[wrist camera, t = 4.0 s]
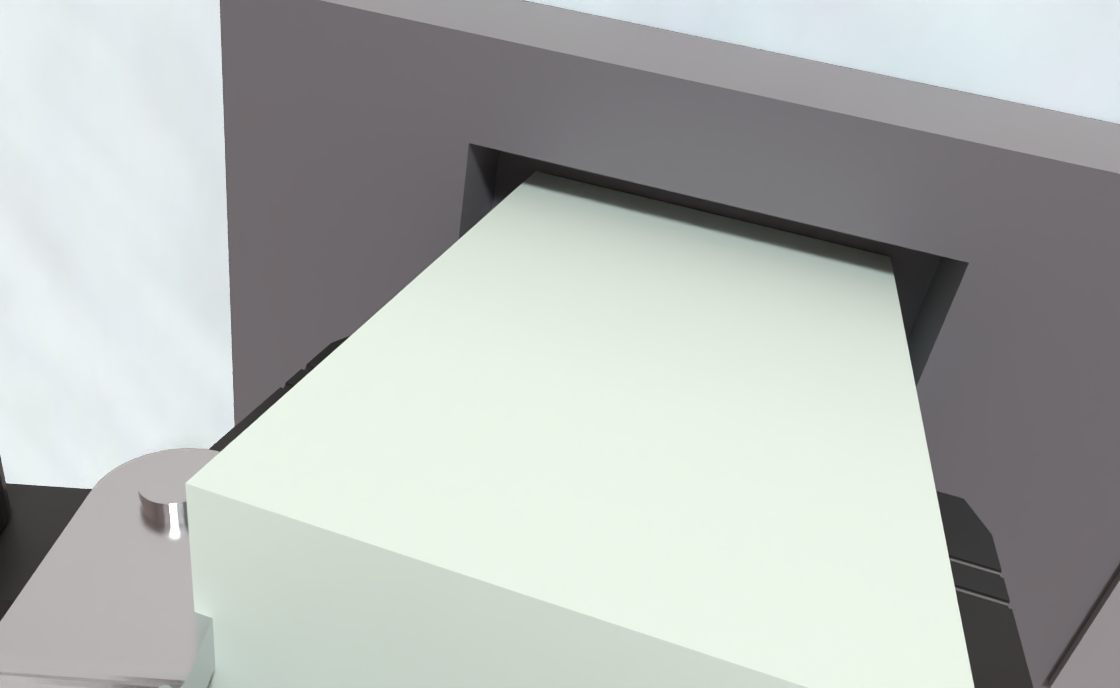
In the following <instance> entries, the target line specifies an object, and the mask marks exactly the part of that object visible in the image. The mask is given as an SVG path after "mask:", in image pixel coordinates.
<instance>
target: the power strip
mask: <svg viewBox="0 0 1120 688" xmlns="http://www.w3.org/2000/svg"><path fill="white" fill-rule="evenodd" d="M220 18H221V47H222V75H223V104H224V133H225V162H226V190H227V219H228V248H229V276H230V305H231V334H232V363H233V391H234V420H235V426H236V425H237V424H238V423H240V422H241V421H242V420H243V419H244V418H245V417H246V416H248V415H249V414H250V413H251V412H252V411H253V410H255V409H256V408H257V407H258V406H259V405H260V404H261V403H263V402H264V401H265V400H266V399H267V398H268V397H269V396H271V395H272V394H273V393H274V392H275V391H276V390H278V389H279V388H280V387H281V388H284V386H285V383H286V382H287V381H288V380H289V379H290V378H291V377H292V376H294V375H295V374H296V373H297V372H298V371H299V370H300V369H303V370H305V368H306V364H307V363H309V362H310V361H311V360H312V359H313V358H314V357H315V356H317V355H318V354H319V353H320V352H321V351H322V350H323V349H325V348H326V347H327V346H328V345H329V344H330V343H332V342H335V341H337V340H340V339H343V338H345V337H348V336H350V335H352V334H353V333H355V332H356V331H357V330H358V329H359V328H360V327H361V326H362V325H363V324H365V323H366V322H367V321H368V320H369V319H370V318H371V317H372V316H374V315H375V314H376V313H377V312H378V311H379V310H380V309H381V308H383V307H384V306H385V305H386V304H387V303H388V302H389V301H390V300H392V299H393V298H394V297H395V296H396V295H397V294H398V293H399V292H401V291H402V290H403V289H404V288H405V287H406V286H407V285H408V284H410V283H411V282H412V281H413V280H414V279H415V278H416V277H417V276H419V275H420V274H421V273H422V272H423V271H424V270H425V269H426V268H427V267H429V266H430V265H431V264H432V263H433V262H434V261H435V260H436V259H438V258H439V257H440V256H441V255H442V254H443V253H444V252H445V251H447V250H448V249H449V248H450V247H451V246H452V245H453V244H454V243H456V242H457V241H458V240H459V239H460V238H461V237H462V236H463V235H465V234H466V233H467V232H468V231H469V230H470V229H471V228H472V227H474V226H475V225H476V224H477V223H478V222H479V221H480V220H481V219H483V218H484V217H485V216H486V215H487V214H488V213H489V212H490V211H492V210H493V209H494V208H495V207H496V206H497V205H498V204H499V203H500V202H502V201H503V200H504V199H505V198H506V197H507V196H508V195H509V194H511V193H512V192H513V191H514V190H515V189H516V188H517V187H518V186H520V185H521V184H522V183H523V182H524V181H525V180H526V179H527V178H529V177H530V176H531V175H532V174H533V173H534V172H535V171H538V172H542V173H546V174H550V175H554V176H559V177H563V178H567V179H571V180H575V181H579V182H583V183H587V184H592V185H596V186H600V187H604V188H608V189H612V190H616V191H621V192H625V193H629V194H633V195H637V196H641V197H645V198H649V199H654V200H658V201H662V202H666V203H670V204H674V205H678V206H683V207H687V208H691V209H695V210H699V211H703V212H707V213H711V214H716V215H720V216H724V217H728V218H732V219H736V220H740V221H744V222H749V223H753V224H757V225H761V226H765V227H769V228H773V229H778V230H782V231H786V232H790V233H794V234H798V235H802V236H806V237H811V238H815V239H819V240H823V241H827V242H831V243H835V244H840V245H844V246H848V247H852V248H856V249H860V250H864V251H868V252H873V253H877V254H881V255H885V256H889V257H891V263H892V268H893V273H894V278H895V283H896V288H897V293H898V298H899V304H900V309H901V314H902V319H903V324H904V329H905V334H906V339H907V345H908V350H909V355H910V360H911V365H912V370H913V375H914V380H915V386H916V391H917V396H918V401H919V406H920V411H921V416H922V422H923V427H924V432H925V437H926V442H927V447H928V452H929V457H930V463H931V468H932V473H933V478H934V483H935V488H936V491H939V492H942V493H946V494H949V495H953V496H957V497H960V498H964V499H965V501H966V502H967V503H968V505H969V506H970V507H971V508H972V510H973V511H974V512H975V514H976V515H977V516H978V517H979V519H980V520H981V521H982V522H983V524H984V525H985V526H986V528H987V529H988V530H989V531H990V533H991V534H992V536H993V540H994V544H995V547H996V551H997V555H998V559H999V562H1000V566H1001V570H1002V571H1001V575H1000V577H1002V578H1004V581H1005V584H1006V588H1007V592H1008V596H1009V599H1010V602H1009V608H1010V609H1012V610H1013V614H1014V618H1015V621H1016V625H1017V629H1018V632H1019V636H1020V640H1021V644H1022V647H1023V651H1024V655H1025V658H1026V662H1027V666H1028V669H1029V673H1030V677H1031V681H1032V684H1033V688H1120V124H1116V123H1111V122H1106V121H1102V120H1097V119H1092V118H1087V117H1082V116H1077V115H1073V114H1068V113H1063V112H1058V111H1053V110H1049V109H1044V108H1039V107H1034V106H1029V105H1025V104H1020V103H1015V102H1010V101H1005V100H1001V99H996V98H991V97H986V96H981V95H977V94H972V93H967V92H962V91H957V90H952V89H948V88H943V87H938V86H933V85H928V84H924V83H919V82H914V81H909V80H904V79H900V78H895V77H890V76H885V75H880V74H876V73H871V72H866V71H861V70H856V69H852V68H847V67H842V66H837V65H832V64H827V63H823V62H818V61H813V60H808V59H803V58H799V57H794V56H789V55H784V54H779V53H775V52H770V51H765V50H760V49H755V48H751V47H746V46H741V45H736V44H731V43H727V42H722V41H717V40H712V39H707V38H702V37H698V36H693V35H688V34H683V33H678V32H674V31H669V30H664V29H659V28H654V27H650V26H645V25H640V24H635V23H630V22H626V21H621V20H616V19H611V18H606V17H602V16H597V15H592V14H587V13H582V12H577V11H573V10H568V9H563V8H558V7H553V6H549V5H544V4H539V3H534V2H529V1H525V0H220Z"/></svg>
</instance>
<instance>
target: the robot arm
mask: <svg viewBox="0 0 1120 688" xmlns="http://www.w3.org/2000/svg"><path fill="white" fill-rule="evenodd" d="M350 336H351V335H350ZM350 336H348V337H345V338H343V339H340V340H337V341H335V342H332V343H330V344H329V345H328V346H327V347H326V348H325V349H323V350H322V351H321V352H320V353H319V354H318V355H317V356H315V357H314V358H313V359H312V360H311V361H310V362H309V363H307V364H306V368H305V370H303V369H300V370H299V371H298V372H297V373H296V374H295V375H294V376H292V377H291V378H290V379H289V380H288V381H287V382H286V383H285V386H284V388H281V387H280V388H279V389H278V390H276V391H275V392H274V393H273V394H272V395H271V396H269V397H268V398H267V399H266V400H265V401H264V402H263V403H261V404H260V405H259V406H258V407H257V408H256V409H255V410H253V411H252V412H251V413H250V414H249V415H248V416H246V417H245V418H244V419H243V420H242V421H241V422H240V423H238V424H237V425H236V426H235V427H234V428H233V429H232V430H230V431H229V432H228V433H227V434H226V435H225V436H223V437H222V438H221V439H220V440H219V441H218V442H217V443H215V444H214V445H213V446H212V447H211V448H210V449H209V450H208V449H197V448H182V449H171V450H164V451H159V452H155V453H150V454H147V455H144V456H141V457H138V458H135V459H133V460H130V461H128V462H126V463H124V464H122V465H120V466H118V467H117V468H115V469H114V470H112V471H111V472H109V473H108V474H107V475H105V476H104V477H103V478H102V479H101V480H100V481H99V482H98V483H97V484H96V485H95V487H94V488H93V489H79V488H65V487H50V486H36V485H21V484H7V483H6V482H5V477H4V472H3V467H2V462H1V457H0V688H207V687H208V684H209V681H210V679H211V676H212V674H213V671H214V669H215V651H214V634H213V618H210V617H207V616H205V615H202V614H199V613H196V612H194V598H193V584H192V570H191V557H190V543H189V529H188V515H187V501H186V488H185V483H186V482H187V481H188V480H189V479H191V478H192V477H193V476H194V475H195V474H196V473H197V472H198V471H200V470H201V469H202V468H203V467H204V466H205V465H206V464H207V463H209V462H210V461H211V460H212V459H213V458H214V457H215V456H216V455H217V454H219V453H220V452H221V451H222V450H223V449H224V448H225V447H226V446H228V445H229V444H230V443H231V442H232V441H233V440H234V439H235V438H237V437H238V436H239V435H240V434H241V433H242V432H243V431H244V430H246V429H247V428H248V427H249V426H250V425H251V424H252V423H253V422H255V421H256V420H257V419H258V418H259V417H260V416H261V415H262V414H264V413H265V412H266V411H267V410H268V409H269V408H270V407H271V406H273V405H274V404H275V403H276V402H277V401H278V400H279V399H280V398H282V397H283V396H284V395H285V394H286V393H287V392H288V391H289V390H290V389H292V388H293V387H294V386H295V385H296V384H297V383H298V382H299V381H301V380H302V379H303V378H304V377H305V376H306V375H307V374H308V373H310V372H311V371H312V370H313V369H314V368H315V367H316V366H317V365H319V364H320V363H321V362H322V361H323V360H324V359H325V358H326V357H328V356H329V355H330V354H331V353H332V352H333V351H334V350H335V349H337V348H338V347H339V346H340V345H341V344H342V343H343V342H344V341H346V340H347V339H348V338H349V337H350ZM936 493H937V498H938V504H939V509H940V514H941V519H942V524H943V529H944V534H945V539H946V545H947V550H948V555H949V560H950V565H951V570H952V575H953V580H954V586H955V591H956V596H957V601H958V606H959V611H960V616H961V621H962V627H963V632H964V637H965V642H966V647H967V652H968V657H969V662H970V668H971V673H972V678H973V683H974V688H1033V684H1032V681H1031V677H1030V673H1029V669H1028V666H1027V662H1026V658H1025V655H1024V651H1023V647H1022V644H1021V640H1020V636H1019V632H1018V629H1017V625H1016V621H1015V618H1014V614H1013V610H1012V609H1010V608H1009V602H1010V599H1009V596H1008V592H1007V588H1006V584H1005V581H1004V578H1002V577H1000V575H1001V571H1002V570H1001V566H1000V562H999V559H998V555H997V551H996V547H995V544H994V540H993V536H992V534H991V533H990V531H989V530H988V529H987V528H986V526H985V525H984V524H983V522H982V521H981V520H980V519H979V517H978V516H977V515H976V514H975V512H974V511H973V510H972V508H971V507H970V506H969V505H968V503H967V502H966V501H965V499H964V498H960V497H957V496H953V495H949V494H946V493H942V492H939V491H936Z"/></svg>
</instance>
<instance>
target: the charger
mask: <svg viewBox="0 0 1120 688" xmlns="http://www.w3.org/2000/svg"><path fill="white" fill-rule="evenodd" d="M185 488H186V501H187V515H188V529H189V543H190V557H191V570H192V584H193V598H194V612H196V613H199V614H202V615H205V616H207V617H210V618H213V634H214V651H215V669H214V671H213V674H212V676H211V679H210V681H209V684H208V687H207V688H974V683H973V678H972V673H971V668H970V662H969V657H968V652H967V647H966V642H965V637H964V632H963V627H962V621H961V616H960V611H959V606H958V601H957V596H956V591H955V586H954V580H953V575H952V570H951V565H950V560H949V555H948V550H947V545H946V539H945V534H944V529H943V524H942V519H941V514H940V509H939V504H938V498H937V493H936V488H935V483H934V478H933V473H932V468H931V463H930V457H929V452H928V447H927V442H926V437H925V432H924V427H923V422H922V416H921V411H920V406H919V401H918V396H917V391H916V386H915V380H914V375H913V370H912V365H911V360H910V355H909V350H908V345H907V339H906V334H905V329H904V324H903V319H902V314H901V309H900V304H899V298H898V293H897V288H896V283H895V278H894V273H893V268H892V263H891V257H889V256H885V255H881V254H877V253H873V252H868V251H864V250H860V249H856V248H852V247H848V246H844V245H840V244H835V243H831V242H827V241H823V240H819V239H815V238H811V237H806V236H802V235H798V234H794V233H790V232H786V231H782V230H778V229H773V228H769V227H765V226H761V225H757V224H753V223H749V222H744V221H740V220H736V219H732V218H728V217H724V216H720V215H716V214H711V213H707V212H703V211H699V210H695V209H691V208H687V207H683V206H678V205H674V204H670V203H666V202H662V201H658V200H654V199H649V198H645V197H641V196H637V195H633V194H629V193H625V192H621V191H616V190H612V189H608V188H604V187H600V186H596V185H592V184H587V183H583V182H579V181H575V180H571V179H567V178H563V177H559V176H554V175H550V174H546V173H542V172H538V171H535V172H534V173H533V174H532V175H531V176H530V177H529V178H527V179H526V180H525V181H524V182H523V183H522V184H521V185H520V186H518V187H517V188H516V189H515V190H514V191H513V192H512V193H511V194H509V195H508V196H507V197H506V198H505V199H504V200H503V201H502V202H500V203H499V204H498V205H497V206H496V207H495V208H494V209H493V210H492V211H490V212H489V213H488V214H487V215H486V216H485V217H484V218H483V219H481V220H480V221H479V222H478V223H477V224H476V225H475V226H474V227H472V228H471V229H470V230H469V231H468V232H467V233H466V234H465V235H463V236H462V237H461V238H460V239H459V240H458V241H457V242H456V243H454V244H453V245H452V246H451V247H450V248H449V249H448V250H447V251H445V252H444V253H443V254H442V255H441V256H440V257H439V258H438V259H436V260H435V261H434V262H433V263H432V264H431V265H430V266H429V267H427V268H426V269H425V270H424V271H423V272H422V273H421V274H420V275H419V276H417V277H416V278H415V279H414V280H413V281H412V282H411V283H410V284H408V285H407V286H406V287H405V288H404V289H403V290H402V291H401V292H399V293H398V294H397V295H396V296H395V297H394V298H393V299H392V300H390V301H389V302H388V303H387V304H386V305H385V306H384V307H383V308H381V309H380V310H379V311H378V312H377V313H376V314H375V315H374V316H372V317H371V318H370V319H369V320H368V321H367V322H366V323H365V324H363V325H362V326H361V327H360V328H359V329H358V330H357V331H356V332H355V333H353V334H352V335H351V336H350V337H349V338H348V339H347V340H346V341H344V342H343V343H342V344H341V345H340V346H339V347H338V348H337V349H335V350H334V351H333V352H332V353H331V354H330V355H329V356H328V357H326V358H325V359H324V360H323V361H322V362H321V363H320V364H319V365H317V366H316V367H315V368H314V369H313V370H312V371H311V372H310V373H308V374H307V375H306V376H305V377H304V378H303V379H302V380H301V381H299V382H298V383H297V384H296V385H295V386H294V387H293V388H292V389H290V390H289V391H288V392H287V393H286V394H285V395H284V396H283V397H282V398H280V399H279V400H278V401H277V402H276V403H275V404H274V405H273V406H271V407H270V408H269V409H268V410H267V411H266V412H265V413H264V414H262V415H261V416H260V417H259V418H258V419H257V420H256V421H255V422H253V423H252V424H251V425H250V426H249V427H248V428H247V429H246V430H244V431H243V432H242V433H241V434H240V435H239V436H238V437H237V438H235V439H234V440H233V441H232V442H231V443H230V444H229V445H228V446H226V447H225V448H224V449H223V450H222V451H221V452H220V453H219V454H217V455H216V456H215V457H214V458H213V459H212V460H211V461H210V462H209V463H207V464H206V465H205V466H204V467H203V468H202V469H201V470H200V471H198V472H197V473H196V474H195V475H194V476H193V477H192V478H191V479H189V480H188V481H187V482H186V483H185Z"/></svg>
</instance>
